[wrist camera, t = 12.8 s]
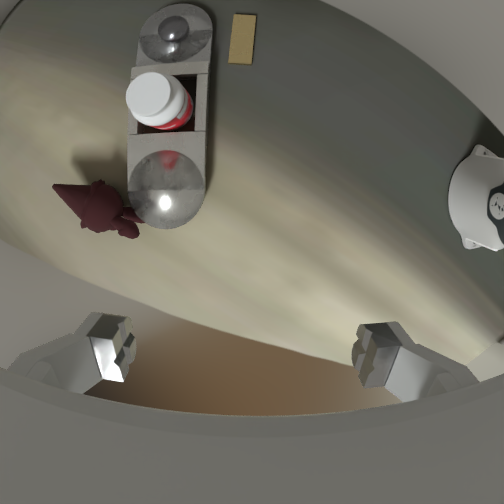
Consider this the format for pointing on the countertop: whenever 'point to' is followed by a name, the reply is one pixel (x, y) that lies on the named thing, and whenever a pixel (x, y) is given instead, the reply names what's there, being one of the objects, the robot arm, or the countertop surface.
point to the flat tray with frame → (173, 143)
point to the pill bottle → (159, 101)
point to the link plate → (242, 39)
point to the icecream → (100, 208)
